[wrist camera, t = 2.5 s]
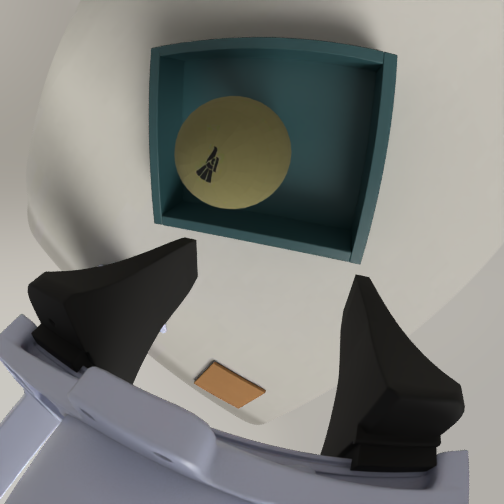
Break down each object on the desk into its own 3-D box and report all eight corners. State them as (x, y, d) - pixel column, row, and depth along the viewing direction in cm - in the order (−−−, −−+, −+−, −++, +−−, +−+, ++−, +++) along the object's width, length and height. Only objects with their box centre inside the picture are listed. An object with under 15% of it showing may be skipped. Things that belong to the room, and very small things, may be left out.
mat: (239, 406, 39) (238, 408, 38) (194, 381, 38) (193, 383, 38) (265, 390, 34) (265, 392, 34) (214, 361, 34) (213, 363, 34)
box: (177, 206, 24) (153, 223, 21) (178, 53, 17) (150, 47, 14) (358, 239, 21) (360, 264, 18) (386, 64, 14) (397, 55, 11)
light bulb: (299, 181, 20) (265, 242, 11) (228, 166, 21) (150, 213, 12) (313, 107, 17) (287, 102, 9) (235, 95, 18) (152, 93, 10)
